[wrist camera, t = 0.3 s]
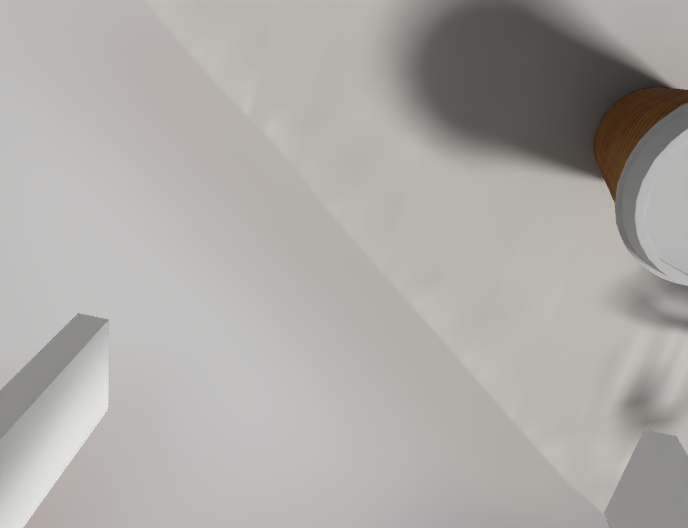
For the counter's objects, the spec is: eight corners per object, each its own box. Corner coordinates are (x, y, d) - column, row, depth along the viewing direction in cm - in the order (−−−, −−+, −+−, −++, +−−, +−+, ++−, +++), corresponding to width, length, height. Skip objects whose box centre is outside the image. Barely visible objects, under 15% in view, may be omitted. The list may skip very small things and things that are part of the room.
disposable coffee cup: (757, 71, 36) (903, 111, 25) (696, 223, 40) (799, 314, 29) (592, 47, 36) (666, 76, 26) (548, 200, 41) (596, 281, 30)
